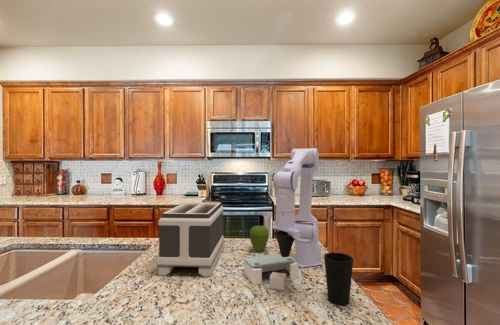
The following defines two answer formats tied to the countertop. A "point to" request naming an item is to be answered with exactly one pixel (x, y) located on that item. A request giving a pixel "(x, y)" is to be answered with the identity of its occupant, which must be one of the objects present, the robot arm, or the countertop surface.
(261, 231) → the olive green rounded lump
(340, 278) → the cup
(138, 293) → the countertop surface
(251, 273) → the c-shaped bracket
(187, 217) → the toaster
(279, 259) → the cover
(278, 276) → the usb wall charger
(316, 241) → the robot arm
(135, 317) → the countertop surface
